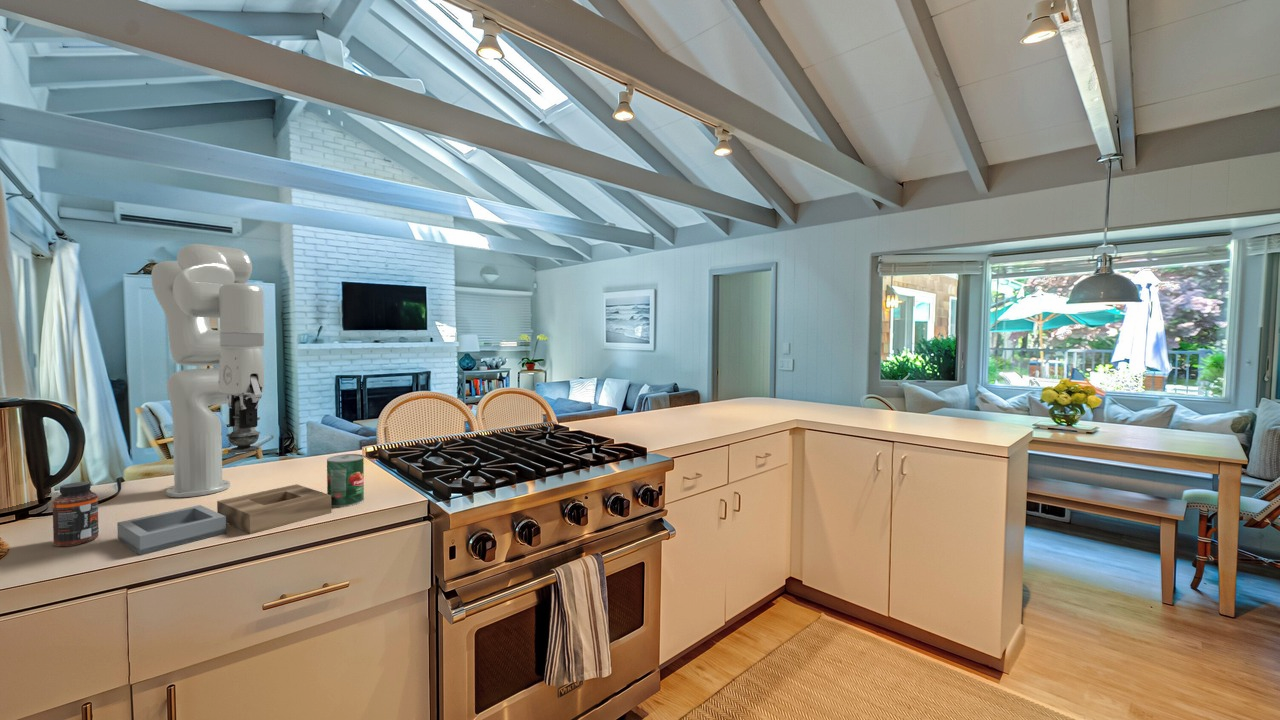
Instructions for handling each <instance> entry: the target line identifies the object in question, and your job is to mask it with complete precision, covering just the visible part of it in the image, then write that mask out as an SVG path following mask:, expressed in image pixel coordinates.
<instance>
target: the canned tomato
mask: <svg viewBox="0 0 1280 720" xmlns="http://www.w3.org/2000/svg"><path fill="white" fill-rule="evenodd" d="M364 464H365V463H364V455H363V454H359V453H348V454H347V453H345V454H338V455H333V456H329V457H327V458H326V468H327V469H326V482H327V483H326V488H327V489H326V490H327V493H326V494H329V495H331V506H333V507H332V508H342V507H341V506H346V507H350V506H349V505H352V506H354V505H353V504H356V505H358V504H357V503H359V504H360V502H361V503H363V502H364V501H365V495H364V494H365V492H364V491H365V486H364V485H365V484H364V483H365V479H364V477H365V475H364V471H365V470H364V469H365V468H364ZM363 500H364V501H363ZM362 501H363V502H362Z"/></svg>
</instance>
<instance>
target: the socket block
mask: <svg viewBox="0 0 1280 720" xmlns="http://www.w3.org/2000/svg"><path fill="white" fill-rule="evenodd" d="M216 504H217V506H216V507H217V508H216V509H217V510H216V512H217V513H219V514H222V515H224V516H226V525H230V526H232V527H234V528H236V529H238V530H240V531H243V532H245V533H247V534H250V535H251V534H252V535H253V534H256V533H259V532H263V531H267V530H270V529H274V528H279V527H282V526H286V525H289V524H293V523H297V522H300V521H304V520H308V519H311V518H315V517H316V518H317V517H319V515H320V516H323V514H324V515H326V514H330V513H332V507H331V495H329V494H327V493H326V492H323V491H319V490H317V489H313V488H309V487H306V486H305V485H304V486H303V485H300V484H291V485H287V486H282V487H276V488H273V489H268V490H262V491H259V492H258V491H257V492H254V493H249V494H243V495H240V496H239V495H238V496H235V497H229V498H225V499H220V500H217V501H216Z"/></svg>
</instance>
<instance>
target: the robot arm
mask: <svg viewBox="0 0 1280 720" xmlns="http://www.w3.org/2000/svg"><path fill="white" fill-rule="evenodd" d="M252 272H253V263H252V260H251V257H250V256H249V254H247V252H246V251H244V250H242V249H241V248H235V247H230V246H229V247H228V246H220V245H212V244H205V243H204V244H203V243H202V244H201V243H193V244H191V243H190V244H188V245H185V246H183V247H181V248H180V250H178V252H177V255H176V260H167V261H160V262H159V263H156V264H155V265H154V266H153V267H152V270H151V273H150V274H151V276H150V277H151V286H152V290H153V292H154V293H153V294H154V295H155V297H156V300H157V302H158V303H159V305H160V307H161V309H162V310H163V313H164V315H165V318H166V325H167V333H168V342H169V348H170V353H171V358H172V359H173V361H174V362H175V363H176V364H177V365H180V366H186V367H187V366H188V367H205V366H206V367H207V366H209V367H210V366H212V368H211V367H210V368H189V369H183V370H178V371H176V372H174V373H172V374H171V375H170V376H169V378H168V379H167V382H166V384H167V385H166V388H167V394H168V398H169V403H170V407H171V414H172V415H171V416H172V436H173V437H172V438H173V439H172V440H173V445H172V446H173V482H174V483H173V485H174V486H171V487H169V488H167V489H166V490H165V491H166V493H165V494H166V496H168V497H169V498H170V497H171V498H191V497H199V496H204V495H210V494H215V493H219V492H222V491H225V490H227V489H228V488H230V487H231V482H230V481H229V480H227V479H226V480H225V479H223V446H222V445H223V443H222V442H223V441H222V440H223V437H222V435H223V433H222V431H223V430H222V422H221V420H220V417H219V416H218V415H217V414H216V413H215V412H214V411H212V410H211V409H210V408H209V407H210V406H216V405H217V406H218V405H228V419H229V421H228V422H229V423H228V426H230V427H235V418H233V416H235V402H236V401H238V400H240V403H241V409H242V410H239V428H241V429H244V428H252V427H253V428H256V427H258V426H259V425H258V409H259V401H260V399H261V398H262V397H263V395H262V394H263V392H264V391H265V368H264V357H263V352H262V351H263V350H262V349H264V348H265V337H264V336H265V334H264V333H265V331H264V330H265V327H264V326H265V319H264V313H265V311H264V291H263V289H262V287H261V286H259V285H256V284H250V283H247V282H248V281H249V280H250V278H251V276H252ZM210 318H211V319H212V318H215V319H219V329H218V330H217V329H216V330H215V329H212V327H211V323H210ZM213 366H217V367H218V368H213ZM246 399H247V401H246Z"/></svg>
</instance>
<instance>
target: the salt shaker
mask: <svg viewBox="0 0 1280 720" xmlns="http://www.w3.org/2000/svg"><path fill="white" fill-rule="evenodd" d="M246 401H247V399H246ZM239 410H242V409H241V403H240V400H238V401H236V402H235V416H233V418H235V426H233V427H234V428H233V431H231V432H229V433H227V434H226V437H227V439H228V442H229V444H230V445H232V446H235V447H232V448H231V449H229V450H228V453H233V454H234V453H235V454H240V453H241V454H242V453H250V452H254V451H258V450H259V449H260V448H259V447H258V446H256V445H253V444H255V443H256V442H257V441H259V438H260V434H261V433H262V432H261V431H259V430H258V431H257V430H255V429H254V427H252V428H244V429H241V428H239Z"/></svg>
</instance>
